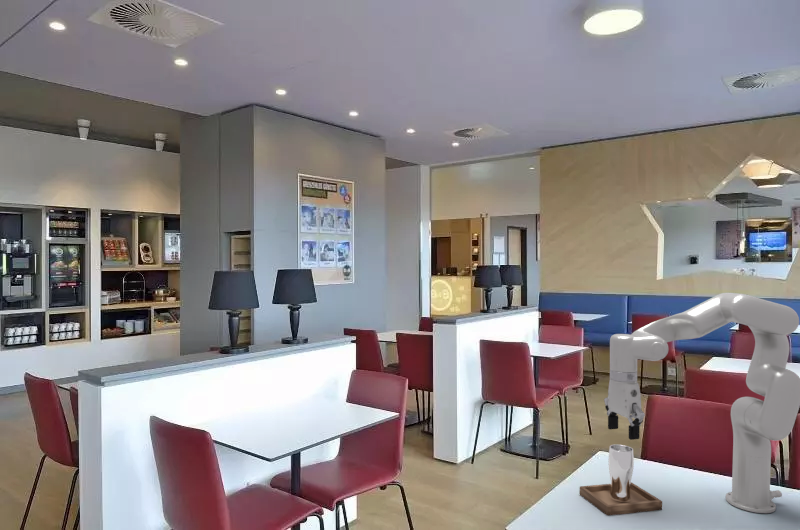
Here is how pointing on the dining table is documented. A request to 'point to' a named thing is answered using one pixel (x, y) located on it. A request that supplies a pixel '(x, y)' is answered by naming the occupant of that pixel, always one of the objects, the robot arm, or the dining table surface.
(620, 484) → the beer glass
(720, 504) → the dining table surface
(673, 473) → the dining table surface
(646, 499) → the walnut tray
